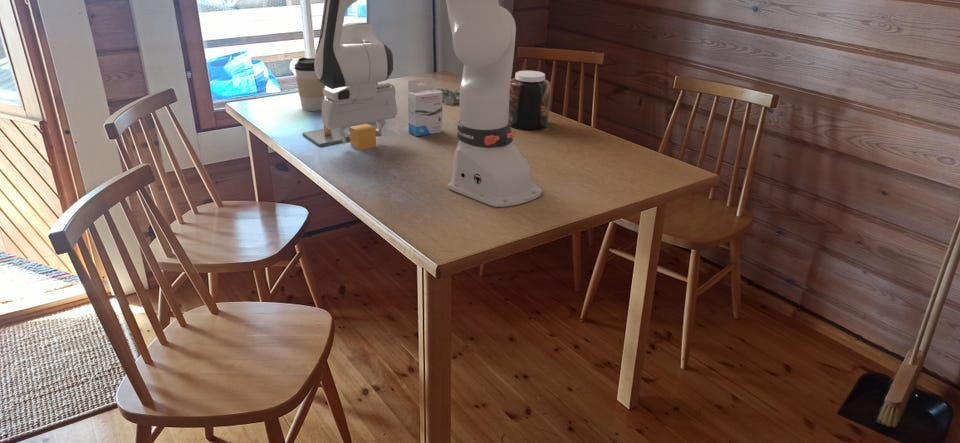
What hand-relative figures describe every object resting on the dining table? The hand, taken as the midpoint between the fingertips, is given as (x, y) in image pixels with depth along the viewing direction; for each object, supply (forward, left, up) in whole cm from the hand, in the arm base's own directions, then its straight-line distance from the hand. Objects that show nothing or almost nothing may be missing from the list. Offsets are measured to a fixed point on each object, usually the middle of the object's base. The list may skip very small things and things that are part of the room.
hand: (361, 139), depth 177 cm
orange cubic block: (0, 0, -2) cm, 2 cm away
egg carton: (+25, -44, -2) cm, 50 cm away
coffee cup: (+40, -4, -2) cm, 40 cm away
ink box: (+1, -20, -2) cm, 20 cm away
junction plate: (+11, +5, -2) cm, 12 cm away
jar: (-9, -49, -2) cm, 50 cm away
